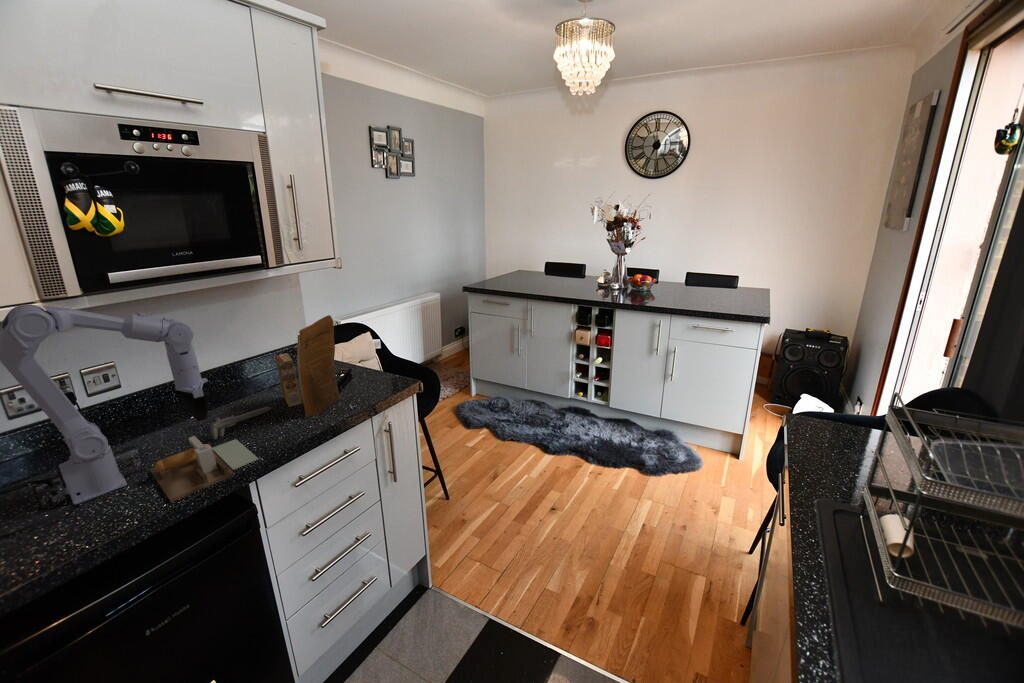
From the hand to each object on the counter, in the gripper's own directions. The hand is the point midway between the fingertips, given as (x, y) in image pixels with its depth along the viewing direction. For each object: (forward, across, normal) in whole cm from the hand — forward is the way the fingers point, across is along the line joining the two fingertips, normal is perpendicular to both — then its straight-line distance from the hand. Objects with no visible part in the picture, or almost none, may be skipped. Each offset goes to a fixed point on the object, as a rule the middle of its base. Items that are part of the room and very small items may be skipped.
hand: (197, 415), depth 122 cm
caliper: (+10, +7, -12) cm, 18 cm away
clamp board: (+10, -11, +6) cm, 16 cm away
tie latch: (+9, -10, +3) cm, 14 cm away
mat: (+10, -10, -4) cm, 15 cm away
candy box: (+10, +12, -28) cm, 32 cm away
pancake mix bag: (+10, -2, -33) cm, 35 cm away
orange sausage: (+8, -8, +6) cm, 13 cm away
